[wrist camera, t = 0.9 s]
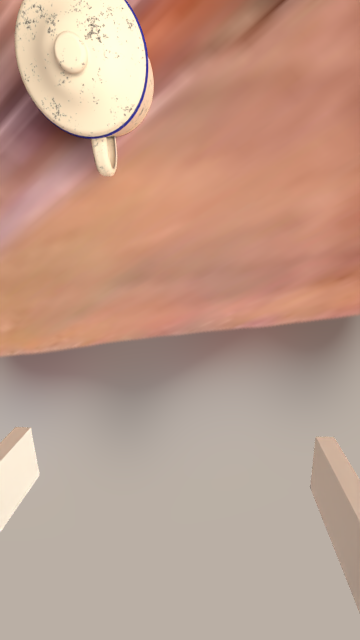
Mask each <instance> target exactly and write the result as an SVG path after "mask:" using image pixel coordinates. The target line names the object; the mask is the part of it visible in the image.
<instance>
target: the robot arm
mask: <svg viewBox="0 0 360 640" xmlns="http://www.w3.org/2000/svg"><path fill="white" fill-rule="evenodd" d="M39 475H40V474H39V469H38V464H37V458H36V453H35V448H34V443H33V437H32V432H31V428H24V427H22V428H21V427H16V428H14V429H13V430H12V431H11V432H10V433H9V434H8V436H7V437H5V438H4V440H3V441H2V442H1V443H0V532H1V530H2V529H3V527H4V526H5V525H6V523H7V522H8V520H9V519H10V517H11V516H12V514H13V513H14V512H15V510H16V509H17V507H18V506H19V504H20V503H21V501H22V500H23V499H24V497H25V496H26V494H27V493H28V491H29V490H30V488H31V487H32V485H33V484H34V483H35V481H36V480H37V478H38V477H39ZM310 488H311V491H312V493H313V496H314V499H315V501H316V503H317V506H318V509H319V511H320V514H321V516H322V519H323V521H324V524H325V526H326V529H327V532H328V534H329V537H330V539H331V541H332V544H333V547H334V549H335V552H336V554H337V557H338V559H339V562H340V565H341V567H342V569H343V572H344V575H345V577H346V580H347V582H348V585H349V587H350V590H351V592H352V595H353V597H354V600H355V602H356V605H357V608H358V610H359V613H360V479H359V478H358V476H357V474H356V473H355V471H354V469H353V468H352V466H351V465H350V463H349V461H348V460H347V458H346V456H345V455H344V453H343V451H342V450H341V448H340V446H339V445H338V443H337V441H336V440H335V438H334V437H316V438H315V448H314V457H313V466H312V475H311V485H310Z"/></svg>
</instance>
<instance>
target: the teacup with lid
mask: <svg viewBox="0 0 360 640" xmlns="http://www.w3.org/2000/svg"><path fill="white" fill-rule="evenodd" d="M15 53H16V59H17V64H18V68H19V72H20V75H21V78H22V80H23V83H24V85H25V87H26V89H27V91H28V93H29V95H30V97H31V99H32V100H33V102H34V103H35V105H36V106H37V107H38V109H39V110H40V111H41V112H42V114H43V115H44V116H45V117H46V118H47V119H48V120H49V121H51V122H52V123H53V124H54V125H55V126H57V127H58V128H60V129H61V130H63V131H65V132H67V133H69V134H71V135H74V136H77V137H81V138H87V139H91V142H92V149H93V155H94V160H95V163H96V167H97V169H98V171H99V173H100V174H101V175H102V176H112V175H114V173H115V171H116V167H117V146H116V137H117V136H122V135H125V134H127V133H129V132H131V131H133V130H134V129H135V128H136V127H138V126H139V125H140V123H141V122H142V121H143V120H144V118H145V116H146V115H147V113H148V110H149V108H150V105H151V102H152V97H153V88H154V82H153V73H152V68H151V64H150V61H149V58H148V53H147V47H146V42H145V39H144V35H143V32H142V29H141V26H140V24H139V22H138V19H137V17H136V15H135V13H134V12H133V10H132V8H131V7H130V5H129V4H128V2H127V1H126V0H23V2H22V4H21V7H20V9H19V13H18V16H17V21H16V27H15Z"/></svg>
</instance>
